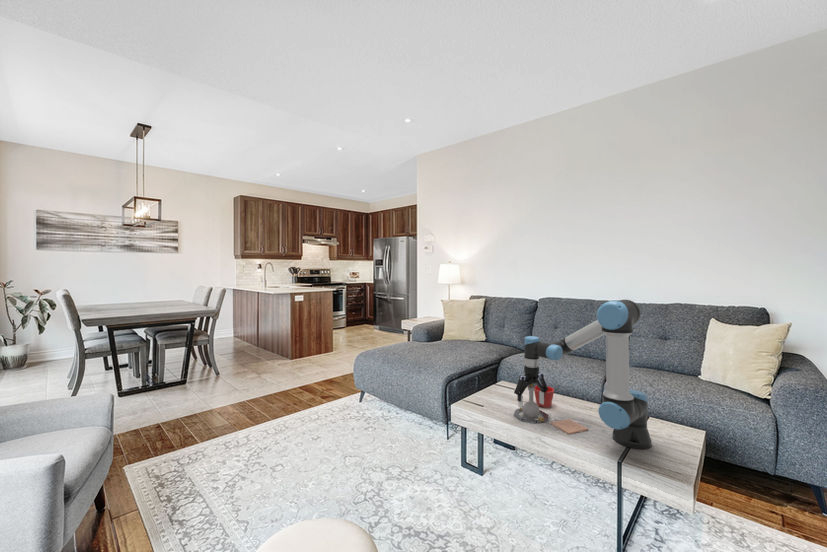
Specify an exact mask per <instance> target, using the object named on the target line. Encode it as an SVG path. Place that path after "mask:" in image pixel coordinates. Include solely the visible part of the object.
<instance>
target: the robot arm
mask: <svg viewBox="0 0 827 552" xmlns="http://www.w3.org/2000/svg"><path fill="white" fill-rule="evenodd" d="M641 315H642V311H641V308H640V306H639V305H638V304H637V303H636V302H635V301H633V300H630V299H619V300H617V299H616V300H609V301H607V302H605V303H603V304H601V305H600V306H599V307H598V309H597V311H596V320H594V321H593V322H591V323H588V324H587V325H585V326H584V327H582V328H580V329H579V330H577V331H575V332H572V333H571V334H570V335H568V336H565V337H564V338H562V339H560V340H558V341H557V340H556V341H553V342H550V343H549V342H542V341H540V337H538V336H533V335H528V336H525V337H524V342H523V345H524V346H523V349H524V350H523V351H524V355H523V356H524V357H523V363H524V366H523V372H524V375H519V376H518V382H517V384H516V387H515V389H514V390H513V391H514V394H515V395H516V396H517V401H518V408H519V409H520V408H523V405H524V396H523V394H524V393H525V391H526V389H528V386H529V384H535V386H538V387H539V389H540V390H541V391H539V403H540V404H542V405H544V398H545V393H546V392H547V391H548V387H549V386H548V385H547V383H546V381H545V377H544V374H543V373H541V372H540V367H539V366H540V358H543V359H547V360H551V361H559V360H561V359H562V357H563V356H567V355H570V354H572V353H573V352H574V351H575V350H577V349H580V348H582V347H583V346H586V345H587V344H589V343H592V342H594V341H595V340H597V339H599V338H601V337H603V336H605V362H606V363H605V370H606V371H605V373H606V374H605V375H606V378H605V379H606V390H604V391H603V392H602V403H600V404H599V407H598V410H597V411H598V415H599V418H600V420H601V421H602V422H603V423H604V425H606V426H607V427H609V428H610V429H613V430H612V439H613V440H614V441H615V442H616V443H618V444H620V445H622V446H624V447H626V448H632V449H637V450H648V449H650V448H651V447H652V444H653V442H652V438H651V435H650V431H649V429H648V403H649V401H648V396H647V394H646V393H644V392H642V391H640V390H639V391H638V390H636V389H631V388H630V351H629V350H630V344H629V341H630V336H631V335H633V333H634V330H633V329H634V328H633V325H635V324H636V323H638V322H639V321H640V318H641ZM547 386H548V387H547ZM546 390H547V391H546Z"/></svg>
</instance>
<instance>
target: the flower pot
mask: <svg viewBox="0 0 827 552" xmlns="http://www.w3.org/2000/svg"><path fill="white" fill-rule="evenodd" d="M534 387H535V390H534V391H533V393H534V396H535V403H537V405H538V407H539V408H546V409H547V408H550V407H551V406H552V403H553V398H554V395H555V394H554V393H555V389H554V388H553V387H551V386H548V385H547V387H548V391H547V390H546V391H547V392H546V393H545V398H544V405H542V404H540V403H539V391H541V390H540V389H539V387H538V386H537V385H535V386H534Z"/></svg>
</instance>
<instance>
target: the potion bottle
mask: <svg viewBox="0 0 827 552" xmlns="http://www.w3.org/2000/svg"><path fill="white" fill-rule="evenodd" d="M527 390H528V392H529V393H528V399H529V400H528V401H525V403H523V409H522V411H523V412H522V414H523V416H524V418H525V419H531V420H537V419H538V417H540V414H539V413H540V410H541V409H540V406H538V405H537V403H536V401H534V390H535V386H534V384H529V385H528V386H527Z"/></svg>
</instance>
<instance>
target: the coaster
mask: <svg viewBox="0 0 827 552" xmlns="http://www.w3.org/2000/svg"><path fill="white" fill-rule="evenodd" d="M550 425H551V426H553V427H554V428H556V429H558V430H560V431H562V432H563V433H566V434H567V435H572V434H578V433H582V432H586V431H589V428H587V427H586V426H584V425H582V424H581V423H577V422H576V421H574V420H572V419H570V418H567V419H561V420H556V421H550Z"/></svg>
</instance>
